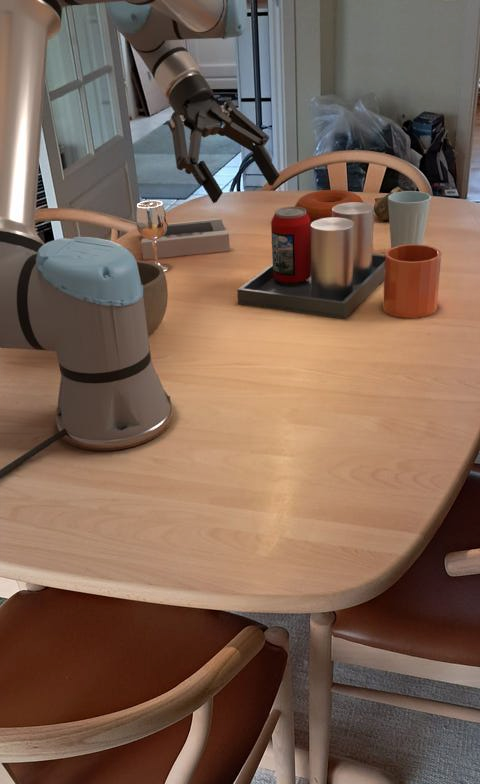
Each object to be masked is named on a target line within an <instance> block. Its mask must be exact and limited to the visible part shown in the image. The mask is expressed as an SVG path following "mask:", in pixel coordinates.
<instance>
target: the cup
mask: <svg viewBox="0 0 480 784" xmlns="http://www.w3.org/2000/svg"><path fill="white" fill-rule="evenodd" d="M403 191H404V192H397V193H393V194H391V195H389V196H388V207H389V219H388V221H389V235H390V236H389V237H390V248H393V247H395V246H401V245H410V244H418V245H424V239H425V234H426V228H427V221H428V216H429V210H430V205H431V199H432V195H431V194H429V193H427V192H423V191H417V190H403Z"/></svg>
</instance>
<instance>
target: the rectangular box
mask: <svg viewBox="0 0 480 784" xmlns="http://www.w3.org/2000/svg"><path fill="white" fill-rule="evenodd" d="M140 241H141V242H140V243H141V250H142V257H143V261H145V260H153V259H154V260H155V253H154V249H153V247H152V242H153V240H150V239H146V238H144V237H142V236H141V240H140ZM156 242H157V258H158V259H164V258H173V257H182V256H183V257H184V256H192V255H193V256H194V255H201V254H202V255H203V254H213V253H220V252H221V253H222V252H230V250H231V248H230V234H229V231H227V230H226V228H225V225H224V223H223V219H222V218H212V219H202V220H192V221H182V222H181V221H180V222H172V223H171V222H170V223H168V226H167V231H166V233H165V234H164V235H163V236H162V237H161V238H159V239H156Z"/></svg>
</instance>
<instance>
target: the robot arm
mask: <svg viewBox="0 0 480 784" xmlns="http://www.w3.org/2000/svg"><path fill="white" fill-rule="evenodd" d="M96 4H105V8H106V13H107V16H108V17H109V19H110V20H111V22H112V23H113V25H114V28H115V29H116V30H117V32H119V34H121V35H122V36H123V38H124V39H125V40H126V41H127V42H128V43H129V44H130V46H131V47H132V48H133V50H134V51H135V52H136V53H137V55H139V57H140V58H141V60H142V61H143V63H144V64H145V66H146V67H147V69H148V70H149V72H150V74H151V75H152V77H153V79H154V81H155V82H156V84H157V86H158V87H159V89H160V90H161V92H162V94H163V95H164V97H165V98H166V99H167V101H168V104H169V105H170V107H171V109H172V111H173V112H172V114H171V116H170V117H169V120H168V121H167V126H168V128H169V130H170V132H171V134H172V135H171V136H172V143H173V151H174V158H175V165H176V168H177V170H178V171H183V170H184V172H185V173H186V174H187V175H191V174H192V176H193V177H194V179H195V181H196V182H197V184H198V185H199V186H202V188H203V189H204V191H205V192H206V194H207V195H208V197H209V199H210V200H211V202H212V203H213V204H215V203H217V202H218V201H219V200H220V198H221V196H223V193H224V192H223V190H222V188H221V186H220V185H219V184H218V182H217V181H216V179H215V177H214V175H213V174H212V172H211V170H210V169H209V166H207V164H206V163H205V161H204V160H200V161H199V159H200V152H201V143H202V138H207V137H209V136H215V135H219V136H220V137H226V138H228V139H230V140H231V141H233V142H235V143H236V144H238V145H239V146H241V147H243V148H245V149H247V150H248V151H250V152H252V154H251V157H252V159H253V161H254V163H255V165H256V166H257V167H258V169H259V171H260V172H261V174H262V176H263V177H264V179H265V180H266V182H267V184H268V185H269V186H270V187H272V186H273V185H274V184H275V183H276V182H277V180H278V179H279V177H280V176H281V175H280V173H279V172H278V170H277V168H276V167H275V165H274V164H273V158H272V156H271V155H270V153H269V152H268V150H267V148H266V147H265V146H266V145H267V143H268V141H269V140H270V136H269V135H268V134H267V133H266V132H265V131H263V129H261V128H260V127H259V126H257V125H256V124H255V123H254V122H253V121H251V120H250V119H249V118H248V117H247V116H246V115H245V114H244V113H242V111H240V110H239V109H238V108H237V107H236V105H235V104H234V103H233V101H232V100H231V99H228V100H227V101H226V102H225V104H222V105H219V104H218V103H217V102H216V100H215V95H214V91H213V90H212V88H211V86H210V85H209V83H208V81H207V80H206V78H205V76H204V75H203V73H202V71H201V70H200V68H199V67H198V65H197V64H196V62H195V60H194V59H193V56H192V55H191V54H190V52H189V51H188V49H187V48H186V46H185V44H184V43H183V41H184V40H206V39H207V40H209V39H222V40H226V39H228V38H238V37H241V36H242V35H243V34H244V33H245V31H246V27H247V22H248V21H247V20H248V9H247V8H248V4H247V0H0V349H8V350H9V349H10V350H26V351H27V350H28V351H31V350H32V351H48V352H55V353H56V357H57V362H58V366H59V371H60V382H59V391H58V399H57V408H56V415H55V416H56V418H55V422H56V427H57V430H58V432H56V433H54V434H53V435H52V436H50V437H48V438H47V439H45V440H43V441H42V442H40V443H39V444H37V445H36V446H34V447H33V448H32V449H30V450H28V451H27V452H25V453H24V454H22V455H21V456H19V457H18V458H16V459H14V460H13V461H12V462H10V463H8V464H7V465H5V466H4V467H3V468H1V469H0V479H1V478H3V477H4V476H5V475H7V474H8V473H10V472H12V471H13V470H14V469H16V468H17V467H19V466H20V465H22V464H24V463H25V462H27V461H28V460H29V459H31V458H33V457H34V456H36V455H37V454H39V453H40V452H42V451H43V450H44V449H46V448H48V447H49V446H51V445H53V444H54V443H55V442H57V441H59V440H60V439H62V440H63V441H65V442H66V443H67V444H69V445H71V446H74V447H76V448H80V449H83V450H88V451H89V450H90V451H116V450H117V451H118V450H124V449H128V448H132V447H136V446H139V445H142V444H145V443H147V442H149V441H151V440H153V439H155V438H157V437H158V436H160V435H161V434H163V432H165V431H166V430H167V429H168V428H169V426H170V425H171V423H172V421H173V409H172V408H173V407H172V402H171V396H170V395H168V393H167V392H166V390H165V389H164V386H163V384H162V382H161V380H160V377H159V375H158V373H157V371H156V368H155V367H154V365H153V362H152V354H151V349H150V341H149V337H148V331H147V323H146V315H145V307H144V299H143V285H142V283H141V280H140V276H139V271H138V266H137V262H136V261H137V260H136V258H135V256H134V254H133V253H132V252H131V251H129V250H128V249H127V248H126V247H125V246H123V245H122V244H120V243H117V242H116V241H115V242H114V241H112V240H109V239H105V238H99V237H92V236H91V237H90V236H74V237H72V238H67V237H62V238H57V239H53V240H50V241H47V242H46V243H45V242H44V241H43V240H42V239H41V238H40V236H39V235H38V234H37V232H36V230H35V226H36V212H37V199H38V184H39V170H40V156H41V143H42V142H41V141H42V129H43V128H42V126H43V114H44V113H43V111H44V100H45V99H44V98H45V83H46V68H47V56H48V55H47V54H48V42H49V41H50V40H52V39H53V38H54V37H56V36H57V35H58V34H59V33H60V31H61V28H62V18H63V8H64V7H68V6H69V7H72V6H84V5H96ZM182 40H183V41H182ZM185 127H186V128H187V129H188V130H190V133H189V146H187V140H186V132H185Z"/></svg>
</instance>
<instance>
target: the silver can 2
mask: <svg viewBox="0 0 480 784" xmlns="http://www.w3.org/2000/svg"><path fill="white" fill-rule="evenodd" d="M374 214H375V212H374V205H372V204H371V203H368V202H364V203H362V202H349V203H342V204H338V205H336V206H334V207H333V208H332V217H338V218H346V219H350V220H352V221H353V222H354V260H353V284H361V283H362V282H363V281H364V280H365V279H367V278H368V277H369V276H370V275H371V274H372V254H373V247H374V218H375V217H374Z"/></svg>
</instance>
